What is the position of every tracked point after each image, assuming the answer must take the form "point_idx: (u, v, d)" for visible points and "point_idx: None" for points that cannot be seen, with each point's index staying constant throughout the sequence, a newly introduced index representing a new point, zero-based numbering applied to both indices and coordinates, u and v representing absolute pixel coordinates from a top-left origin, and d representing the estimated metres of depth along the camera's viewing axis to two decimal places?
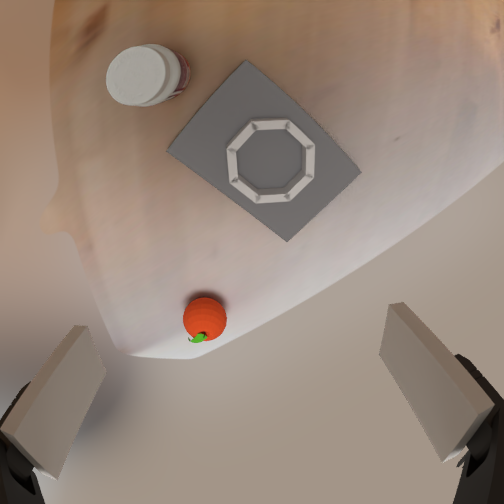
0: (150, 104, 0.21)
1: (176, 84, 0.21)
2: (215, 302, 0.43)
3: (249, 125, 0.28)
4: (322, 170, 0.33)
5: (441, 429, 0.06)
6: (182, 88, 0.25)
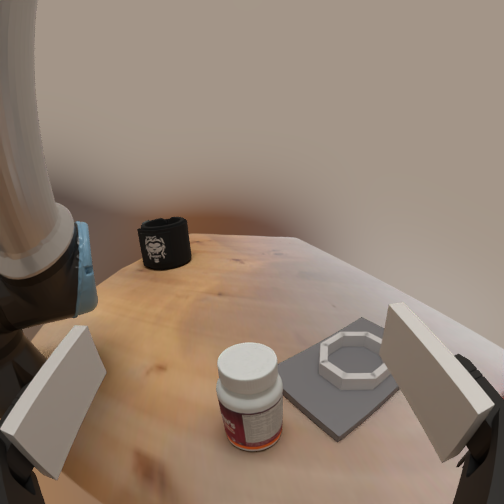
0: (280, 384, 0.23)
1: None
2: None
3: (322, 364, 0.32)
4: None
5: (441, 429, 0.06)
6: None
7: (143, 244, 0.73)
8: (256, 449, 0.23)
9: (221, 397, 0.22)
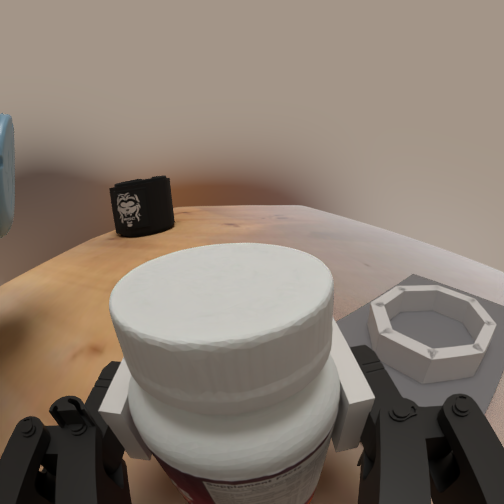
0: (336, 373, 0.07)
1: None
2: None
3: (386, 336, 0.16)
4: None
5: None
6: None
7: (115, 205, 0.56)
8: None
9: (134, 416, 0.06)
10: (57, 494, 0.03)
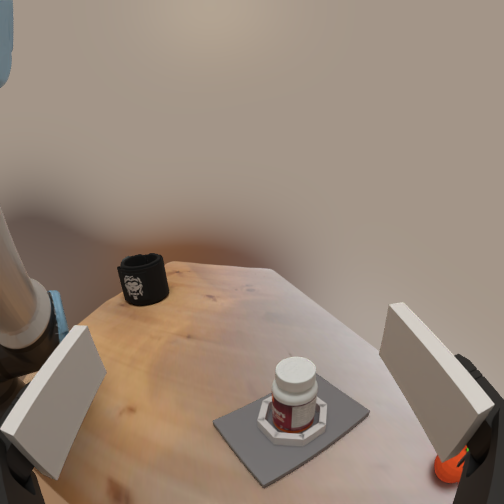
0: (316, 384, 0.34)
1: None
2: None
3: (259, 421, 0.35)
4: None
5: (441, 429, 0.06)
6: None
7: (123, 282, 0.76)
8: (297, 432, 0.34)
9: (278, 396, 0.32)
10: None
